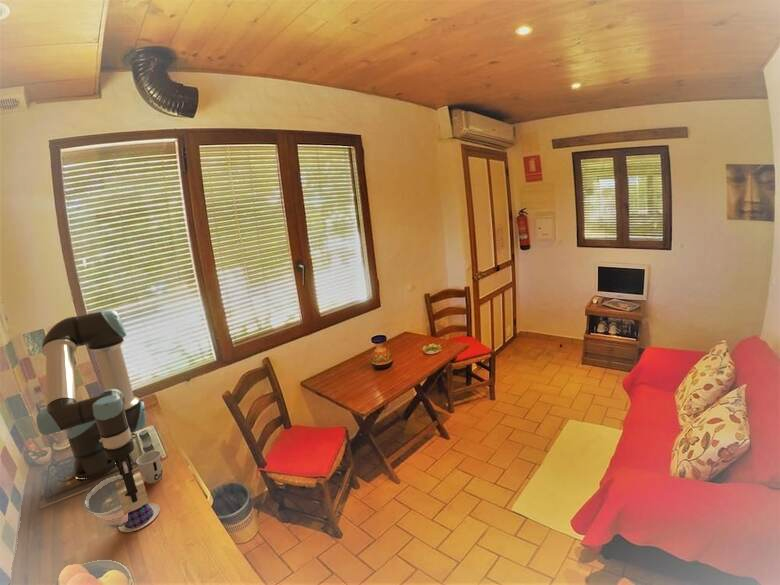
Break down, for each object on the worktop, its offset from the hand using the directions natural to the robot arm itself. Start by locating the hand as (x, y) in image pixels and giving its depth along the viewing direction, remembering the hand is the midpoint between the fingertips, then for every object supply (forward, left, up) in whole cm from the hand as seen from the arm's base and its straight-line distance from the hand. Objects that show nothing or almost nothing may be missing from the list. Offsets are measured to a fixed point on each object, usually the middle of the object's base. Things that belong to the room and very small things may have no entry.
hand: (134, 502), depth 126 cm
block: (0, 0, 0) cm, 0 cm away
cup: (-19, +8, -7) cm, 22 cm away
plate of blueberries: (0, 0, -7) cm, 7 cm away
